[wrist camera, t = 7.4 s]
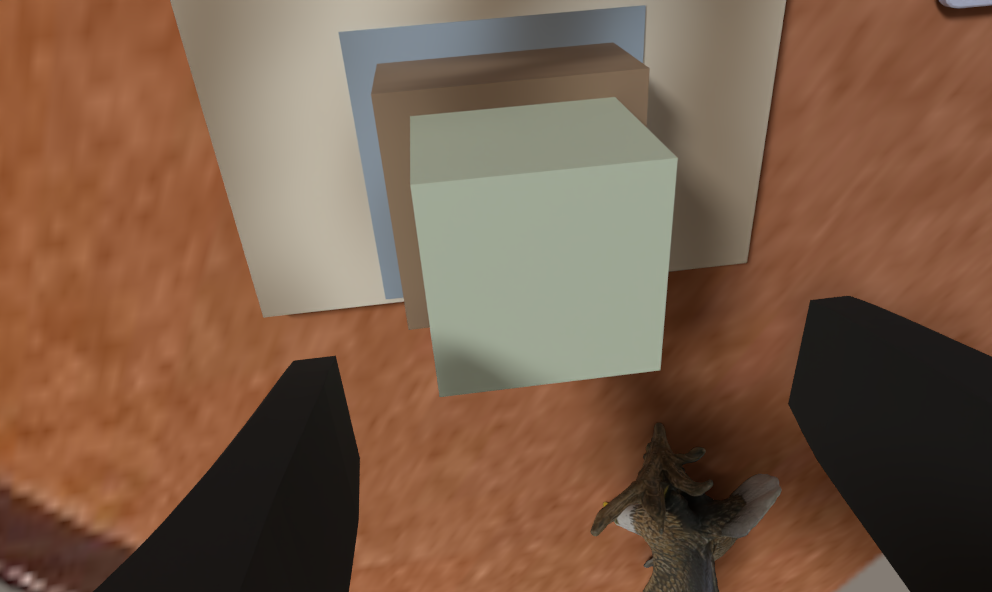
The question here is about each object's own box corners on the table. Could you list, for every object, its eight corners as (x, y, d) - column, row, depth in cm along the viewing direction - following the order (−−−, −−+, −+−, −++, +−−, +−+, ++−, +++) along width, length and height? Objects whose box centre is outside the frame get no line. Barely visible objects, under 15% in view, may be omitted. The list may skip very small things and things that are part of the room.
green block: (609, 275, 17) (660, 370, 14) (433, 294, 17) (439, 396, 13) (614, 97, 15) (677, 158, 11) (410, 116, 14) (410, 185, 11)
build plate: (800, -210, 15) (820, -215, 15) (736, 251, 22) (748, 264, 21) (134, -165, 14) (118, -168, 14) (268, 303, 21) (262, 319, 20)
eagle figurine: (516, 484, 24) (581, 654, 28) (666, 576, 19) (726, 777, 22) (652, 378, 28) (696, 540, 31) (814, 428, 22) (848, 620, 25)
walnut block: (613, 42, 17) (649, 68, 14) (607, 251, 20) (637, 303, 17) (377, 63, 17) (370, 94, 14) (408, 273, 20) (408, 329, 17)
